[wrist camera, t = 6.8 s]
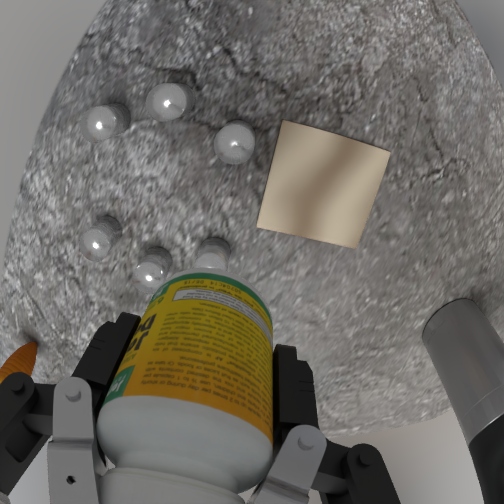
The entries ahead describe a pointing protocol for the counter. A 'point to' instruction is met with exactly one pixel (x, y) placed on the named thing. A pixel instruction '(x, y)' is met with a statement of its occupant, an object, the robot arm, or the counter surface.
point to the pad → (321, 185)
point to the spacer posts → (161, 109)
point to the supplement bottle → (192, 396)
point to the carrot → (20, 361)
